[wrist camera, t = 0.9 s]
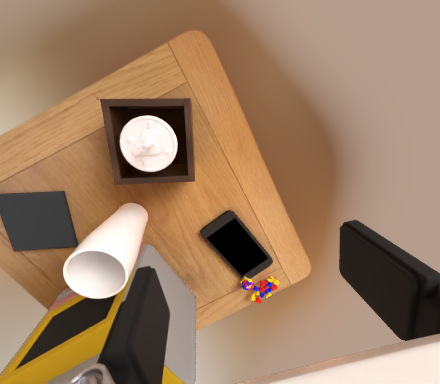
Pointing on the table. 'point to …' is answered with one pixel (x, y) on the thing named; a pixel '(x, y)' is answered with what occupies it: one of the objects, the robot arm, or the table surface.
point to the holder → (119, 116)
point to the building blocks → (248, 284)
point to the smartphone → (236, 245)
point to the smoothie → (148, 143)
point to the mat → (37, 220)
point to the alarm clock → (104, 332)
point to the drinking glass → (107, 254)
